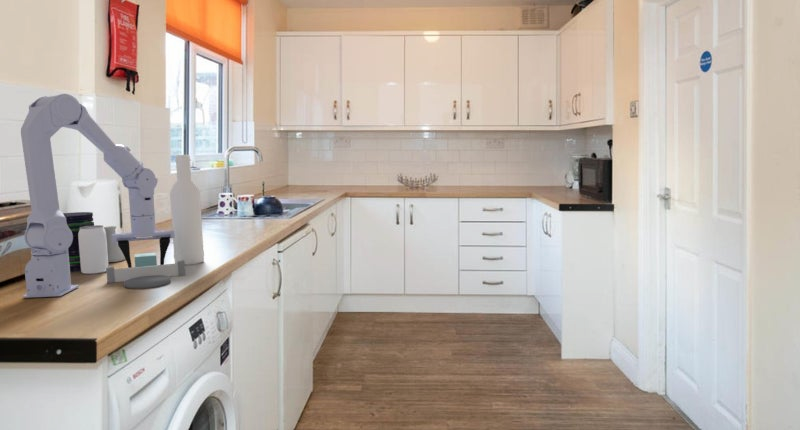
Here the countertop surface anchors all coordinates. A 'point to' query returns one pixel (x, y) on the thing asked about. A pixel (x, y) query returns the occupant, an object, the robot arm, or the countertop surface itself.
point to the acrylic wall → (145, 271)
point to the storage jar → (74, 224)
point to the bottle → (186, 215)
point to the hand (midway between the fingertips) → (146, 268)
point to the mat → (147, 282)
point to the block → (145, 259)
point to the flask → (113, 246)
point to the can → (93, 249)
